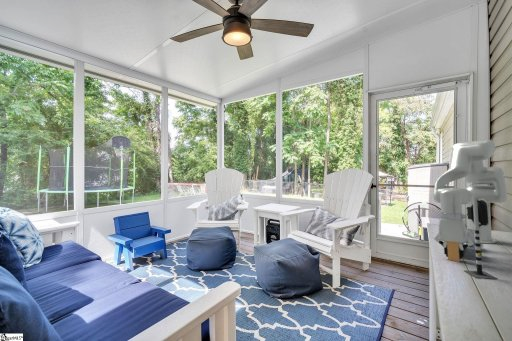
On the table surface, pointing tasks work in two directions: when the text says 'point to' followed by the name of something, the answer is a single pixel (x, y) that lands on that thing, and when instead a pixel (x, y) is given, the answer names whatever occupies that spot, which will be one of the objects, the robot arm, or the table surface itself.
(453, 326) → the table surface
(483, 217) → the miniature traffic light
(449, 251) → the tan flared block
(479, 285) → the table surface
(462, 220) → the robot arm
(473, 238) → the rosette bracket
